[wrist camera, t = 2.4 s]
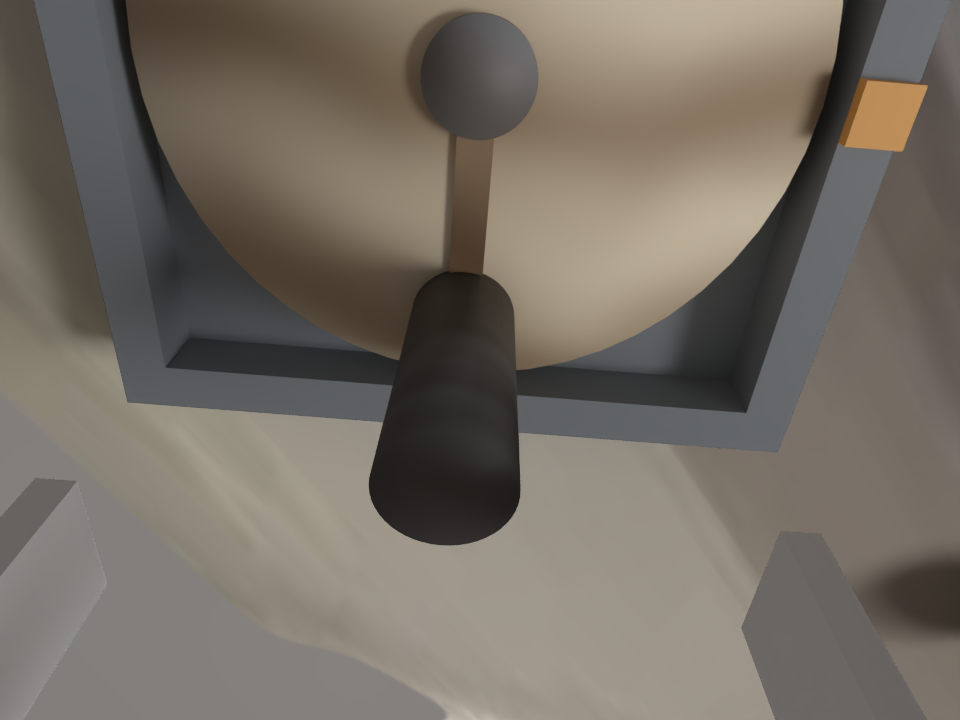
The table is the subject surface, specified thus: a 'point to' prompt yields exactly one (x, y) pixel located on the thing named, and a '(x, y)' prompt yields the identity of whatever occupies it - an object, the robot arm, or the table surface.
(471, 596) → the table surface
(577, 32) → the dial
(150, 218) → the dial frame
